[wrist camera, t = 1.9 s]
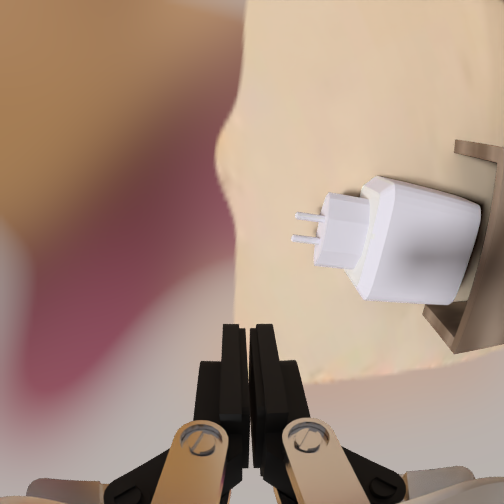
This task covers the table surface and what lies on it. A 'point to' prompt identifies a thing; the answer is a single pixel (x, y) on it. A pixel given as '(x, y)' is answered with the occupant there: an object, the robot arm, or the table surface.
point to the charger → (396, 240)
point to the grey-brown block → (479, 275)
